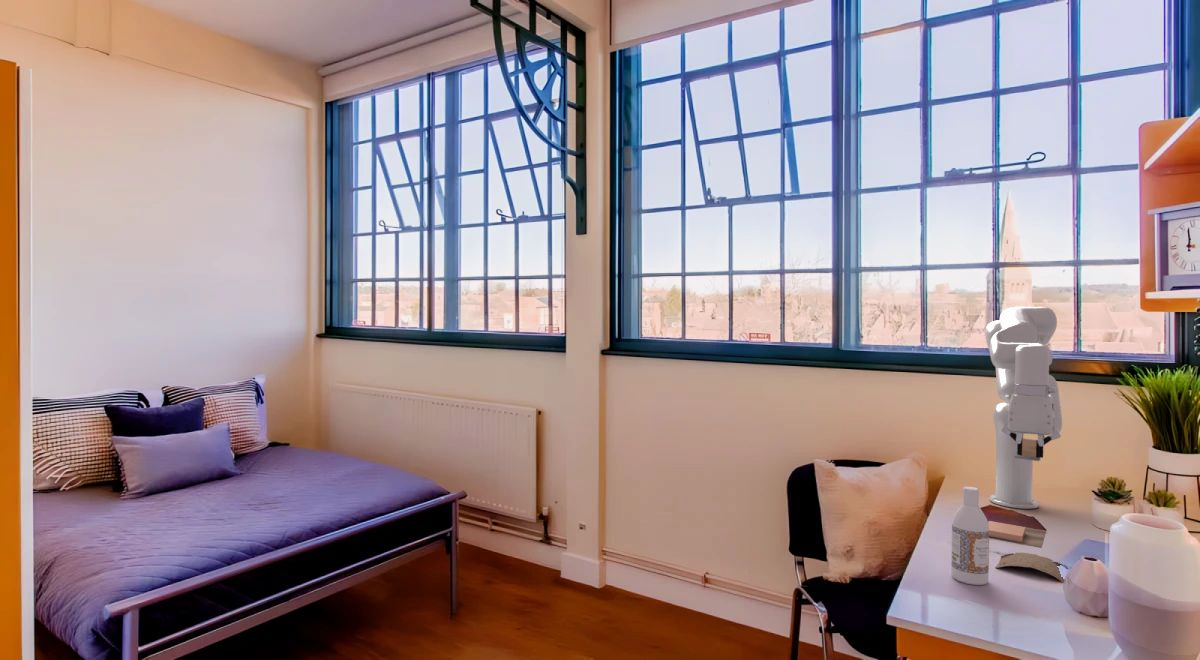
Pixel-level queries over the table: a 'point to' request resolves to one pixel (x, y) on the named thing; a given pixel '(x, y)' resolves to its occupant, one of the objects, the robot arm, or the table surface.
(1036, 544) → the walnut board
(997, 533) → the peach flat slab
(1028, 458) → the tan block
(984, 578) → the bath foam
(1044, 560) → the clay tablet
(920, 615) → the table surface
